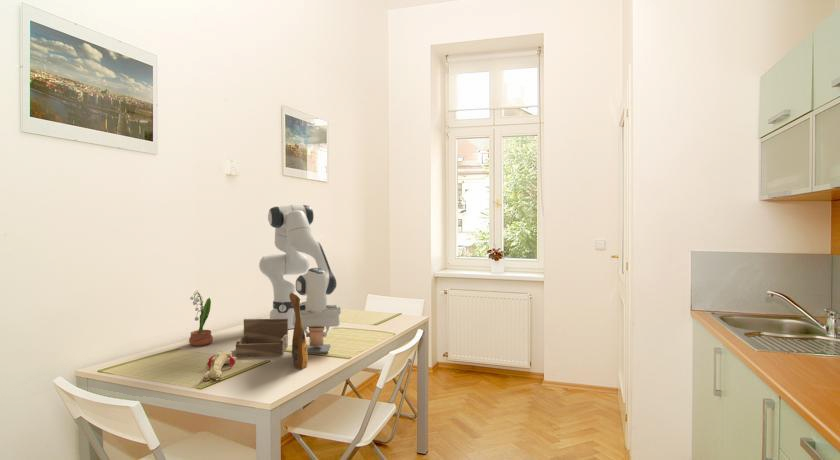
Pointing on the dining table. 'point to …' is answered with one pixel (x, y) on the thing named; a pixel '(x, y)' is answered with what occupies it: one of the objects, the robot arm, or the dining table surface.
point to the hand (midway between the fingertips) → (316, 336)
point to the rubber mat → (318, 349)
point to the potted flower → (201, 324)
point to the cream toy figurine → (219, 364)
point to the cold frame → (263, 338)
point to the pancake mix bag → (298, 336)
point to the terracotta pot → (316, 336)
